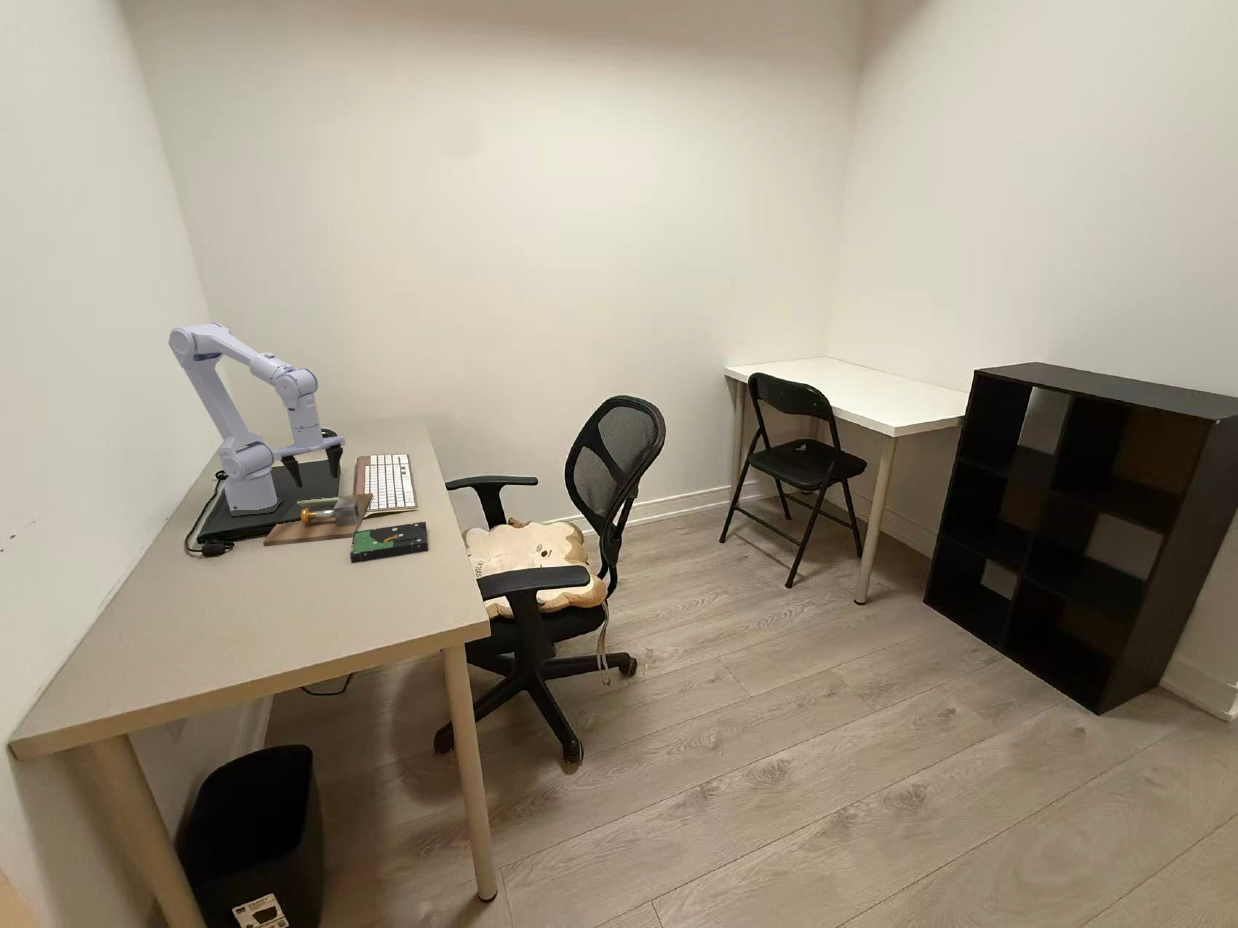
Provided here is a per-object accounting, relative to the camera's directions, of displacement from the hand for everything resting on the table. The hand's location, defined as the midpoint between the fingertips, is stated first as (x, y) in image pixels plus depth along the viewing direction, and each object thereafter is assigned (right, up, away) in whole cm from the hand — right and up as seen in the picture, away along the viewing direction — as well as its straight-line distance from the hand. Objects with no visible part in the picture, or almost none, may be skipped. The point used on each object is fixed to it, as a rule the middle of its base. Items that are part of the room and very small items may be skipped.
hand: (317, 481), depth 130 cm
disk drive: (+21, -14, -10) cm, 27 cm away
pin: (+3, -9, -2) cm, 10 cm away
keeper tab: (0, -6, +2) cm, 6 cm away
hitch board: (0, -9, +2) cm, 9 cm away
